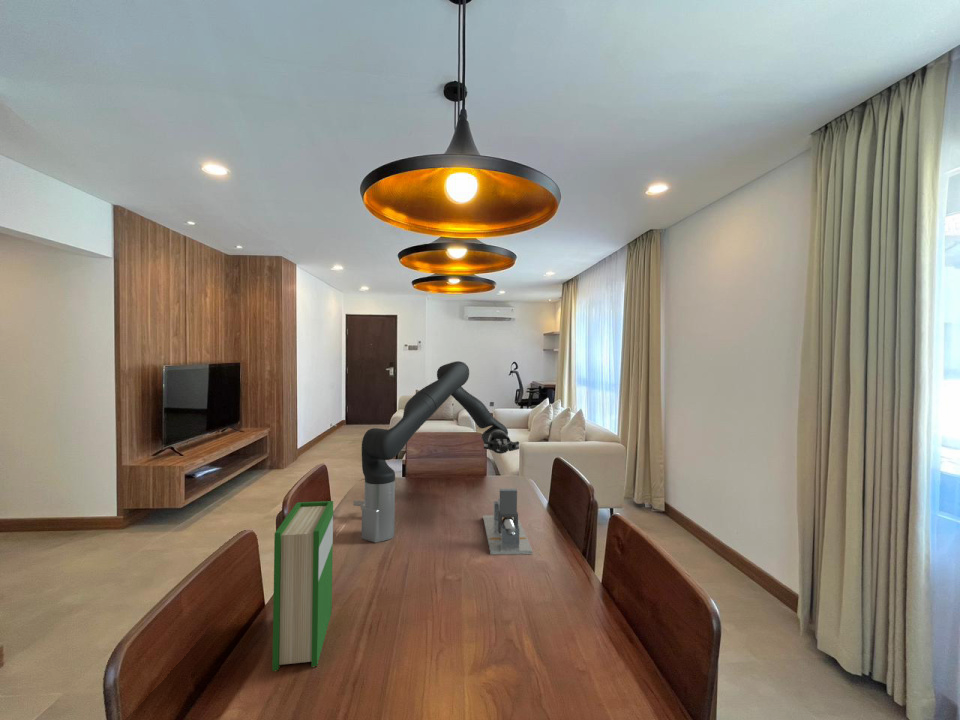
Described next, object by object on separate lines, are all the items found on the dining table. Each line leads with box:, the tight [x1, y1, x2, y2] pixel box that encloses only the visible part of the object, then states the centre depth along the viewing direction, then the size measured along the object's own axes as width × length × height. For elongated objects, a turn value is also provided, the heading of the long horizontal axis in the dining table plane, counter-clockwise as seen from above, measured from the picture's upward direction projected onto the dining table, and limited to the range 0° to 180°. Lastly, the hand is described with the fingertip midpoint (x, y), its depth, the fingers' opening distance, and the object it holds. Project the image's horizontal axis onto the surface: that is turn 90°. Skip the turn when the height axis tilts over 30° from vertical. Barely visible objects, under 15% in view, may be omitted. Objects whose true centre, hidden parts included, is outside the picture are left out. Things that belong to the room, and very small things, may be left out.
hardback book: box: [271, 500, 334, 672], centre depth 88 cm, size 18×7×24 cm, turn 10°
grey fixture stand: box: [482, 498, 533, 556], centre depth 143 cm, size 30×12×8 cm, turn 3°
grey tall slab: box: [498, 488, 519, 533], centre depth 137 cm, size 2×6×13 cm, turn 93°
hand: (504, 449), depth 148 cm, fingers closed
